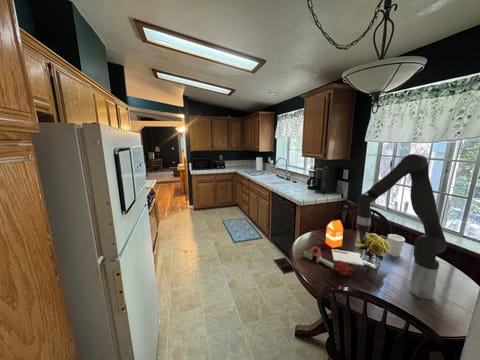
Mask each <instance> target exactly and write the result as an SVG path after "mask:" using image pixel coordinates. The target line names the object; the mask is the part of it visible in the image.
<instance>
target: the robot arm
mask: <svg viewBox="0 0 480 360" xmlns="http://www.w3.org/2000/svg"><path fill="white" fill-rule="evenodd" d="M429 172H430V171H429V161H428V159H427V157H426V156H425V155H422V154H419V153H410V154H407V155H405V156H404V157H403V158H402V159H401V160H400V161H399V163H397V165H395V167H394V168H393V169H392V170H391V171H389V173H387V174H386V175H385V176H383V177H382V178H381V179H380V180H379V181H377V182H376V183H375V184H373V185H372V186H371V187H370V189H368V190H367V191H365V192H364V193H362V194H360V195H359V196H358V200H357V203H358V205H357V206H358V211H357V218H356V223H355V224H356V225H355V228H356V229H357V236H358V235H359V239H360V243H361V244H364V245H366V242H367V232H370V230H371V229H370V228H371V223H372V221H371V220H372V218H371V217H372V209H371V203H373V202H375V201H376V200H377V199H378V198H379V197H380V196H382V195H384V194H385V193H386V192H388V191H389V190H391V189H392V188H393V187H394V186H395V185H396V184H397V183H398V182H399V181H400V180H401V179H403V178H404V177H406V176H408V175H409V176H410V179H411V180H410V181H411V186H410V203H411V207H412V210H413V212H414V214H415V215H416V216H417V217H418V219H419V220H420V221H421V223H422V226H423V229H424V231H423V232H424V234H423V235H419V236H417V237H416V238H415V241H414V247H413V257H414V260H413V265H412V272H411V276H410V277H411V278H410V282H409V288H408V289H409V292H410V293H412V294H413V295H414V296H416V298H419V299H424V300H428V301H433V300H434V294H435V290H436V286H437V285H436V282H437V277H438V272H439V268H440V262H439V261H438V260H437V259H436V258H437V254H440V253H443V252H444V251H446V250H447V247H448V244H447V239H446V237H445V235H444V232H443V229H442V226H441V225H442V224H441V221H440V217H439V213H438V209H437V203H436V199H435V194H434V190H433V187H432V183H431V180H430V174H429Z"/></svg>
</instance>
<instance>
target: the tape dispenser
mask: <svg viewBox="0 0 480 360" xmlns="http://www.w3.org/2000/svg"><path fill="white" fill-rule="evenodd" d="M303 254H304V255H303V256H304V258H307V259H309V260H313V258H314V257H313V256H315V257H316V261H315V262H316V263H317V264H319V263H322V264H324V265H325V266H327V267H329V268H331V270H334V267H335V266H334V263H335V262H334V263H333V262H331V261H329V260H327V259H324V258H323V257H322V252H321V248H320V247H319V246H316V245H314V246H312V247H310V249H308V250H304V253H303Z"/></svg>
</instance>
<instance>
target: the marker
mask: <svg viewBox="0 0 480 360" xmlns="http://www.w3.org/2000/svg"><path fill="white" fill-rule="evenodd" d="M358 242H360V239H359V235H358V234H357V243H358ZM356 250H357V252H359V253H360V252H364V249H359V248H357V247H356Z"/></svg>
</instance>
